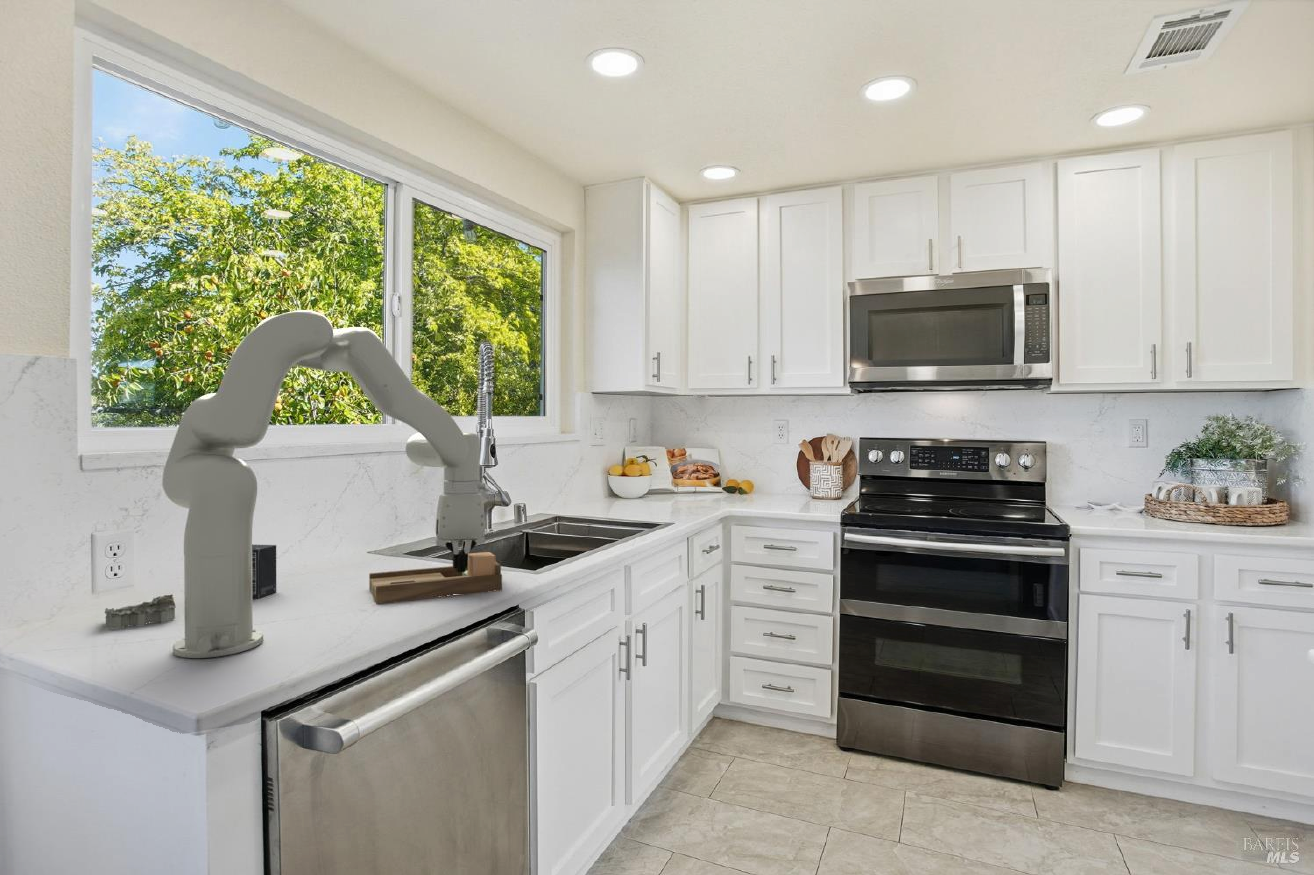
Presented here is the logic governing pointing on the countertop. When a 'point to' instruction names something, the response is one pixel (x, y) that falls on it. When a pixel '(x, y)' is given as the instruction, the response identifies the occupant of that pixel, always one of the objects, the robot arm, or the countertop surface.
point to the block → (481, 564)
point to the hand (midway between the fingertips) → (460, 571)
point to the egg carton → (142, 613)
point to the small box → (263, 570)
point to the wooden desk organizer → (430, 583)
